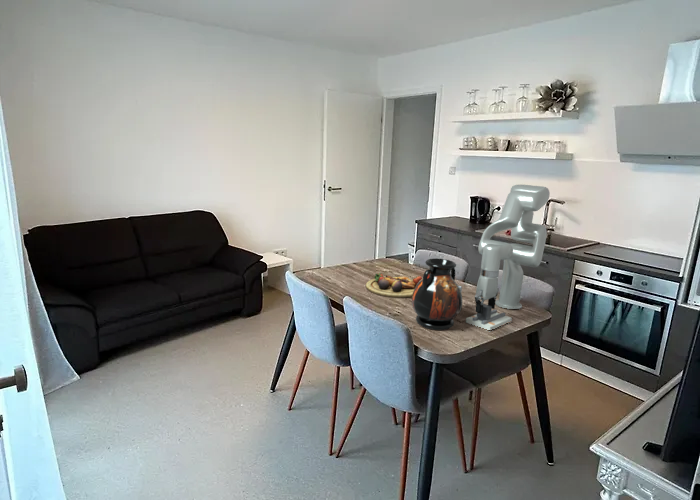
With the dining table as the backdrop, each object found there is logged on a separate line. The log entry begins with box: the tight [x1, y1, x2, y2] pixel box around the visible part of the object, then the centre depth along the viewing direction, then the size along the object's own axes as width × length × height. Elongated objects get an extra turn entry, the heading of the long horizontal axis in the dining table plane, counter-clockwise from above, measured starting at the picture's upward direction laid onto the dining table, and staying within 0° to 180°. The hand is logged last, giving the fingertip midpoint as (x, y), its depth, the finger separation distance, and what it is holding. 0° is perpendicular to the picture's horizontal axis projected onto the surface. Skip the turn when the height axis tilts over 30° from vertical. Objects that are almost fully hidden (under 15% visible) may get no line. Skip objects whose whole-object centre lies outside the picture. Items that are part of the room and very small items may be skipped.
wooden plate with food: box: [365, 272, 423, 299], centre depth 232 cm, size 32×32×8 cm
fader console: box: [465, 309, 513, 331], centre depth 192 cm, size 18×12×3 cm, turn 131°
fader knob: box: [476, 303, 493, 321], centre depth 188 cm, size 3×5×7 cm, turn 41°
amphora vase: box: [411, 258, 463, 331], centre depth 185 cm, size 22×22×28 cm
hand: (485, 310), depth 188 cm, fingers open, 9 cm apart
